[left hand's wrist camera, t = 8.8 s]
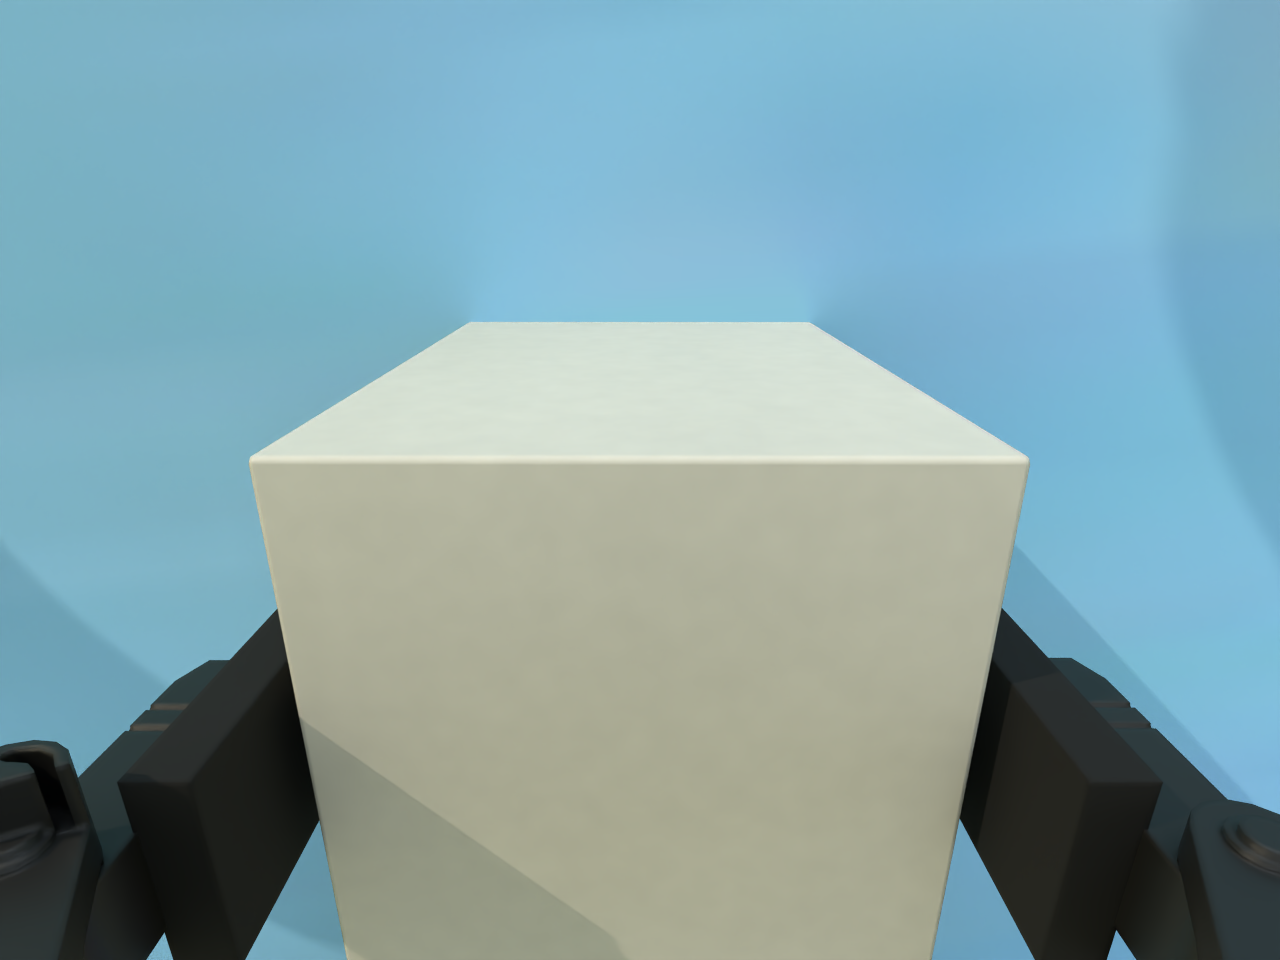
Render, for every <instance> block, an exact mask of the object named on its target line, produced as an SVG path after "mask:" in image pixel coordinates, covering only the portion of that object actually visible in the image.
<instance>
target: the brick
mask: <svg viewBox="0 0 1280 960" xmlns="http://www.w3.org/2000/svg"><path fill="white" fill-rule="evenodd" d="M249 467H250V472H251V477H252V482H253V487H254V492H255V497H256V502H257V507H258V512H259V517H260V522H261V528H262V533H263V538H264V543H265V548H266V553H267V558H268V563H269V568H270V573H271V578H272V583H273V588H274V593H275V598H276V603H277V608H278V613H279V618H280V623H281V628H282V633H283V638H284V643H285V649H286V654H287V659H288V664H289V669H290V674H291V679H292V684H293V689H294V694H295V699H296V704H297V709H298V714H299V719H300V724H301V729H302V734H303V739H304V744H305V749H306V754H307V759H308V764H309V769H310V775H311V780H312V785H313V790H314V795H315V800H316V805H317V810H318V815H319V820H320V825H321V830H322V835H323V840H324V845H325V850H326V855H327V860H328V865H329V870H330V875H331V880H332V885H333V890H334V896H335V901H336V906H337V911H338V916H339V921H340V926H341V931H342V936H343V941H344V946H345V951H346V956H347V960H931V959H932V954H933V949H934V944H935V939H936V934H937V929H938V924H939V919H940V914H941V909H942V904H943V899H944V894H945V889H946V884H947V879H948V874H949V869H950V864H951V859H952V854H953V849H954V844H955V839H956V834H957V829H958V824H959V819H960V813H961V808H962V803H963V798H964V793H965V788H966V783H967V778H968V773H969V768H970V763H971V758H972V753H973V748H974V743H975V738H976V733H977V728H978V723H979V718H980V713H981V708H982V703H983V698H984V693H985V688H986V683H987V678H988V673H989V668H990V663H991V658H992V653H993V648H994V643H995V638H996V633H997V628H998V622H999V617H1000V612H1001V607H1002V602H1003V597H1004V592H1005V587H1006V582H1007V577H1008V572H1009V567H1010V562H1011V557H1012V552H1013V547H1014V542H1015V537H1016V532H1017V527H1018V522H1019V517H1020V512H1021V507H1022V502H1023V497H1024V492H1025V487H1026V482H1027V477H1028V472H1029V467H1030V462H1029V458H1028V457H1027V456H1026V455H1024V454H1023V453H1021V452H1019V451H1018V450H1016V449H1014V448H1013V447H1011V446H1010V445H1008V444H1006V443H1005V442H1003V441H1001V440H1000V439H998V438H997V437H995V436H993V435H992V434H990V433H989V432H987V431H985V430H984V429H982V428H980V427H979V426H977V425H976V424H974V423H972V422H971V421H969V420H967V419H966V418H964V417H963V416H961V415H959V414H958V413H956V412H954V411H953V410H951V409H950V408H948V407H946V406H945V405H943V404H941V403H940V402H938V401H937V400H935V399H933V398H932V397H930V396H928V395H927V394H925V393H924V392H922V391H920V390H919V389H917V388H915V387H914V386H912V385H911V384H909V383H907V382H906V381H904V380H902V379H901V378H899V377H898V376H896V375H894V374H893V373H891V372H889V371H888V370H886V369H885V368H883V367H881V366H880V365H878V364H876V363H875V362H873V361H872V360H870V359H868V358H867V357H865V356H863V355H862V354H860V353H859V352H857V351H855V350H854V349H852V348H850V347H849V346H847V345H846V344H844V343H842V342H841V341H839V340H837V339H836V338H834V337H833V336H831V335H829V334H828V333H826V332H824V331H823V330H821V329H820V328H818V327H816V326H815V325H813V324H811V323H809V322H470V323H468V324H466V325H464V326H463V327H461V328H459V329H458V330H456V331H455V332H453V333H451V334H450V335H448V336H446V337H445V338H443V339H441V340H440V341H438V342H437V343H435V344H433V345H432V346H430V347H428V348H427V349H425V350H424V351H422V352H420V353H419V354H417V355H415V356H414V357H412V358H411V359H409V360H407V361H406V362H404V363H402V364H401V365H399V366H397V367H396V368H394V369H393V370H391V371H389V372H388V373H386V374H384V375H383V376H381V377H380V378H378V379H376V380H375V381H373V382H371V383H370V384H368V385H367V386H365V387H363V388H362V389H360V390H358V391H357V392H355V393H354V394H352V395H350V396H349V397H347V398H345V399H344V400H342V401H340V402H339V403H337V404H336V405H334V406H332V407H331V408H329V409H327V410H326V411H324V412H323V413H321V414H319V415H318V416H316V417H314V418H313V419H311V420H310V421H308V422H306V423H305V424H303V425H301V426H300V427H298V428H296V429H295V430H293V431H292V432H290V433H288V434H287V435H285V436H283V437H282V438H280V439H279V440H277V441H275V442H274V443H272V444H270V445H269V446H267V447H266V448H264V449H262V450H261V451H259V452H257V453H256V454H254V455H252V456H251V457H250V460H249Z"/></svg>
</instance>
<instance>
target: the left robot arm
mask: <svg viewBox="0 0 1280 960" xmlns="http://www.w3.org/2000/svg"><path fill="white" fill-rule="evenodd" d="M1150 724H1151V723H1150V722H1149V721H1148V720H1147V719H1146V718H1145V717H1144V716H1143V715H1142V714H1141V713H1140V712H1139V711H1138V710H1137V709H1136V708H1131V707H1130V702H1129V701H1128V700H1127V699H1126V698H1125V697H1124V696H1123V695H1122V694H1121V693H1120V692H1119V691H1118V690H1117V689H1116V688H1115V687H1114V686H1113V685H1111V684H1110V683H1109V682H1108V681H1107V680H1106V679H1105V678H1104V677H1102V676H1100V675H1099V674H1097V673H1095V672H1094V671H1092V670H1090V669H1089V668H1087V667H1085V666H1084V665H1082V664H1080V663H1079V662H1077V661H1075V660H1074V659H1072V658H1048V657H1047V656H1046V655H1045V654H1044V653H1043V652H1042V651H1041V650H1040V649H1039V648H1038V646H1037V645H1036V644H1035V643H1034V642H1033V641H1032V640H1031V639H1030V638H1029V637H1028V636H1027V635H1026V633H1025V632H1024V631H1023V630H1022V629H1021V628H1020V627H1019V626H1018V625H1017V624H1016V623H1015V622H1014V621H1013V619H1012V618H1011V617H1010V616H1009V615H1008V614H1007V613H1006V612H1005V611H1004V610H1003V609H1002V608H1001V612H1000V617H999V622H998V628H997V633H996V638H995V643H994V648H993V653H992V658H991V663H990V668H989V673H988V678H987V683H986V688H985V693H984V698H983V703H982V708H981V713H980V718H979V723H978V728H977V733H976V738H975V743H974V748H973V753H972V758H971V763H970V768H969V773H968V778H967V783H966V788H965V793H964V798H963V803H962V808H961V813H960V820H961V822H962V824H963V825H964V827H965V829H966V831H967V833H968V835H969V837H970V839H971V840H972V842H973V844H974V846H975V848H976V850H977V852H978V854H979V856H980V857H981V859H982V861H983V863H984V865H985V867H986V869H987V871H988V872H989V874H990V876H991V878H992V880H993V882H994V884H995V886H996V888H997V889H998V891H999V893H1000V895H1001V897H1002V899H1003V901H1004V903H1005V904H1006V906H1007V908H1008V910H1009V912H1010V914H1011V916H1012V918H1013V919H1014V921H1015V923H1016V925H1017V927H1018V929H1019V931H1020V933H1021V935H1022V936H1023V938H1024V940H1025V942H1026V944H1027V946H1028V948H1029V950H1030V951H1031V953H1032V955H1033V957H1034V959H1035V960H1107V957H1108V954H1109V951H1110V948H1111V945H1112V941H1113V938H1114V935H1115V932H1116V930H1117V931H1118V933H1119V934H1120V936H1121V937H1122V939H1123V940H1124V942H1125V943H1126V945H1127V946H1128V948H1129V949H1130V951H1131V952H1132V954H1133V955H1134V957H1135V958H1136V960H1280V814H1277V813H1274V812H1272V811H1269V810H1266V809H1264V808H1261V807H1258V806H1256V805H1253V804H1249V803H1243V802H1238V801H1233V800H1228V799H1226V798H1225V797H1224V796H1223V795H1222V794H1221V793H1220V792H1219V791H1218V790H1217V789H1216V788H1215V787H1214V786H1213V785H1212V784H1211V783H1210V782H1209V781H1208V780H1207V779H1206V778H1205V777H1204V776H1203V775H1202V774H1201V773H1200V772H1199V771H1198V770H1197V769H1196V768H1195V767H1194V766H1193V765H1192V764H1191V763H1190V762H1189V761H1188V760H1187V759H1186V758H1185V757H1184V756H1183V755H1182V754H1181V753H1180V752H1179V751H1178V750H1177V749H1176V748H1175V747H1174V746H1173V745H1172V744H1171V743H1170V742H1169V741H1168V740H1167V739H1166V738H1165V737H1164V736H1163V735H1162V734H1161V733H1160V732H1159V731H1158V730H1157V729H1152V728H1151V725H1150ZM318 822H319V815H318V810H317V805H316V800H315V795H314V790H313V785H312V780H311V775H310V769H309V764H308V759H307V754H306V749H305V744H304V739H303V734H302V729H301V724H300V719H299V714H298V709H297V704H296V699H295V694H294V689H293V684H292V679H291V674H290V669H289V664H288V659H287V654H286V649H285V643H284V638H283V633H282V628H281V623H280V618H279V613H278V609H277V610H276V611H275V612H274V613H273V614H272V615H271V616H270V617H269V618H268V619H267V621H266V622H265V623H264V624H263V625H262V626H261V627H260V628H259V629H258V630H257V631H256V632H255V634H254V635H253V636H252V637H251V638H250V639H249V640H248V641H247V642H246V643H245V644H244V645H243V646H242V648H241V649H240V650H239V651H238V652H237V653H236V654H235V655H234V656H233V657H232V658H231V659H230V660H209V661H208V662H206V663H204V664H203V665H201V666H199V667H198V668H196V669H194V670H193V671H191V672H189V673H188V674H186V675H184V676H183V677H181V678H179V679H178V680H176V681H175V682H174V683H173V684H172V685H171V686H170V687H169V688H168V689H167V690H166V691H165V692H164V693H163V694H162V695H161V696H160V697H159V698H158V699H157V700H156V701H155V702H154V703H153V704H152V705H151V708H150V710H146V711H145V712H144V713H143V714H142V715H141V716H140V717H139V718H138V719H137V720H136V721H135V722H134V723H133V724H132V725H131V726H130V730H129V731H125V732H124V733H123V734H122V735H121V736H120V737H119V738H118V739H117V740H116V741H115V742H113V743H112V744H111V745H110V746H109V747H108V748H107V749H106V750H105V751H104V752H103V753H102V754H101V755H100V756H99V757H98V758H97V759H96V760H95V761H94V762H93V763H92V764H91V765H90V766H89V767H88V768H87V769H86V770H85V771H84V772H83V773H82V774H81V775H80V776H79V777H77V774H76V771H75V768H74V765H73V762H72V759H71V756H70V753H69V750H68V749H66V748H65V747H63V746H62V745H60V744H59V743H57V742H52V741H39V740H32V741H26V742H19V743H13V744H7V745H4V746H1V747H0V960H146V959H147V958H148V956H149V955H150V953H151V952H152V950H153V949H154V947H155V946H156V944H157V943H158V941H159V940H160V938H161V937H162V935H163V934H164V932H165V935H166V938H167V941H168V944H169V948H170V951H171V954H172V957H173V960H245V959H246V957H247V955H248V953H249V951H250V950H251V948H252V946H253V944H254V942H255V940H256V938H257V936H258V935H259V933H260V931H261V929H262V927H263V925H264V923H265V921H266V920H267V918H268V916H269V914H270V912H271V910H272V908H273V906H274V904H275V903H276V901H277V899H278V897H279V895H280V893H281V891H282V889H283V888H284V886H285V884H286V882H287V880H288V878H289V876H290V874H291V873H292V871H293V869H294V867H295V865H296V863H297V861H298V859H299V857H300V856H301V854H302V852H303V850H304V848H305V846H306V844H307V842H308V841H309V839H310V837H311V835H312V833H313V831H314V829H315V827H316V825H317V824H318Z"/></svg>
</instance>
